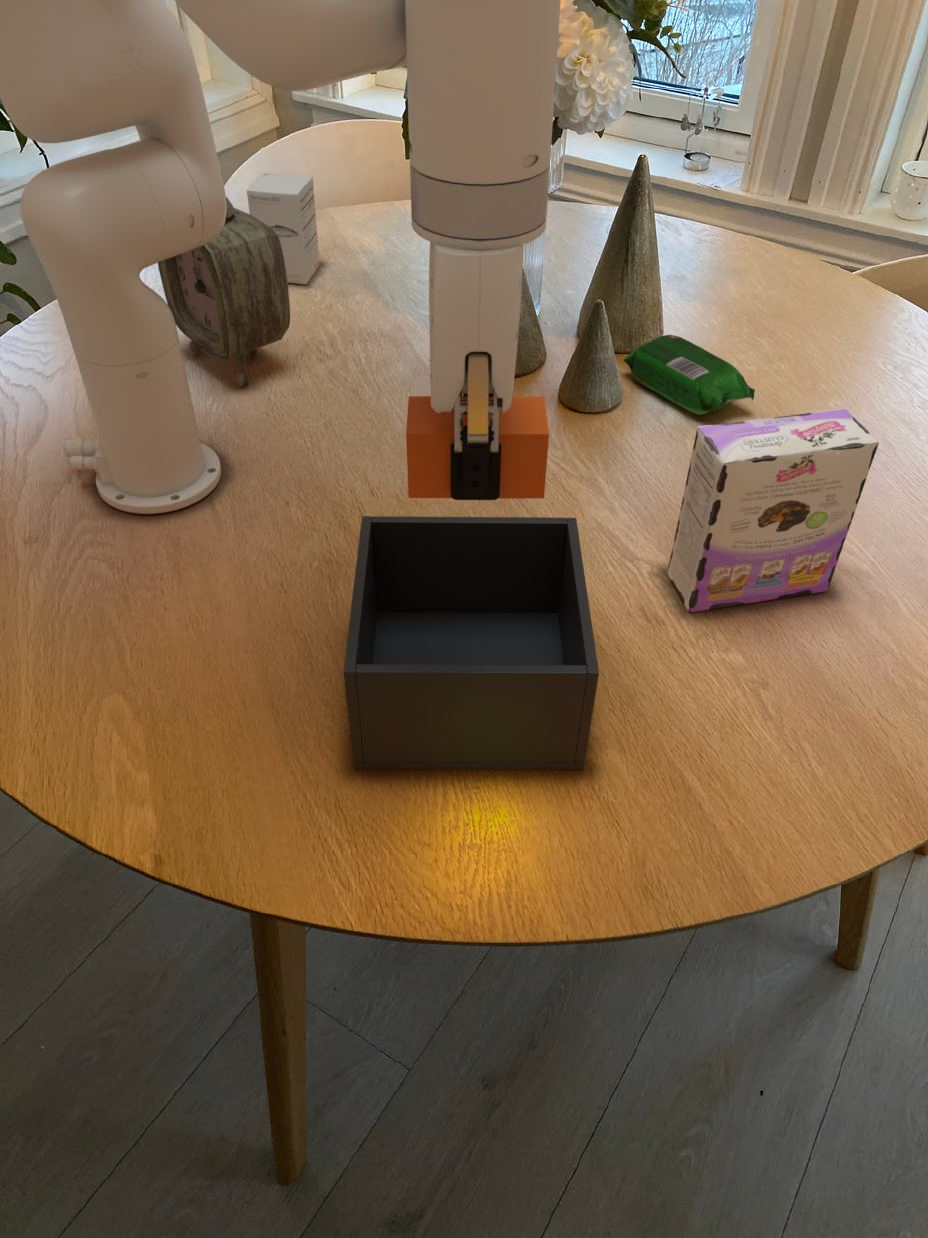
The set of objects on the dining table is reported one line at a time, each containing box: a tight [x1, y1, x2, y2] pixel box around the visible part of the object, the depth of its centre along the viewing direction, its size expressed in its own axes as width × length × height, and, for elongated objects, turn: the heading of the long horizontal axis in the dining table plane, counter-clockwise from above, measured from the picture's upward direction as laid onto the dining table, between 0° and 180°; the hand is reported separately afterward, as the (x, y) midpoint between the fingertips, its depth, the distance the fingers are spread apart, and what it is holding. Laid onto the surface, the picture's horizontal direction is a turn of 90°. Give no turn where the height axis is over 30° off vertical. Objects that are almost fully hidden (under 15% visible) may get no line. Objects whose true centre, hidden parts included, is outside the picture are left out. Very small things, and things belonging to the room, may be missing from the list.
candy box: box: [666, 407, 880, 613], centre depth 84 cm, size 14×6×16 cm, turn 102°
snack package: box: [622, 334, 756, 416], centre depth 112 cm, size 7×16×5 cm, turn 35°
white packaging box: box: [246, 172, 320, 286], centre depth 133 cm, size 7×7×13 cm
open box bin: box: [342, 515, 600, 771], centre depth 76 cm, size 18×18×11 cm
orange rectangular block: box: [405, 395, 550, 499], centre depth 64 cm, size 9×5×5 cm, turn 90°
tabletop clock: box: [157, 171, 291, 388], centre depth 110 cm, size 14×9×25 cm, turn 42°
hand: (474, 471), depth 65 cm, fingers closed on orange rectangular block, 4 cm apart
